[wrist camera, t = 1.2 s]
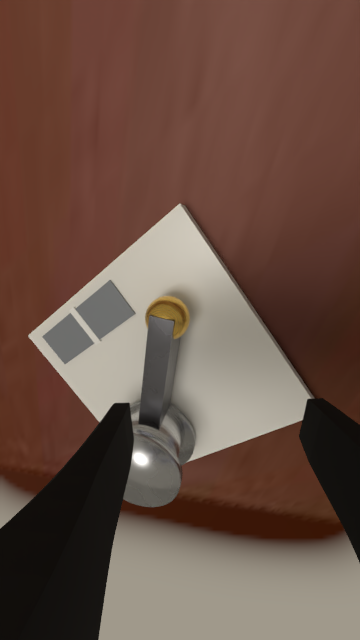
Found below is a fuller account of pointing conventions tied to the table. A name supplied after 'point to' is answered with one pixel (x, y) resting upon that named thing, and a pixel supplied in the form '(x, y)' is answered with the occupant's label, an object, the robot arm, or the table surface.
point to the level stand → (195, 344)
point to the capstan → (159, 411)
